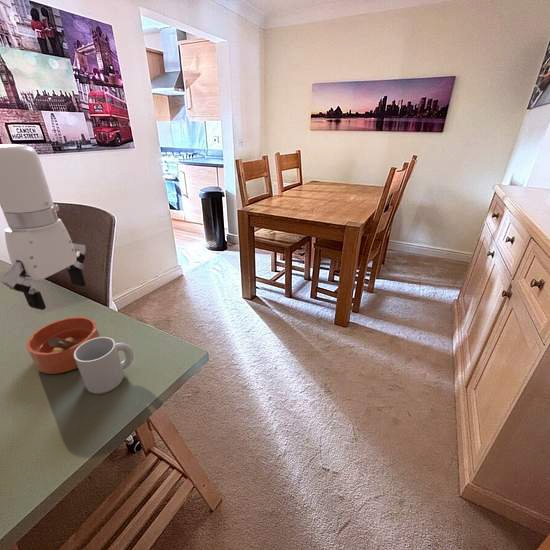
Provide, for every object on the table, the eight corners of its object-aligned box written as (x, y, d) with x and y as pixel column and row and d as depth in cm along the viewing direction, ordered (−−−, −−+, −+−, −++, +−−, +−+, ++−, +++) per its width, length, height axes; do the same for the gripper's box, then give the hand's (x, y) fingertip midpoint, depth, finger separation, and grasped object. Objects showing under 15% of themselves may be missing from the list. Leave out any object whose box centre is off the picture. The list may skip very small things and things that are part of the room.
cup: (82, 379, 64) (70, 346, 60) (131, 358, 70) (123, 327, 66) (90, 401, 59) (77, 367, 55) (142, 376, 65) (134, 344, 61)
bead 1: (59, 354, 70) (52, 347, 69) (67, 350, 70) (61, 343, 69) (54, 360, 68) (48, 352, 67) (63, 355, 68) (57, 348, 67)
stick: (81, 353, 70) (60, 349, 58) (67, 353, 69) (43, 349, 57) (84, 341, 71) (63, 335, 59) (70, 341, 70) (47, 334, 58)
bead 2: (75, 347, 72) (74, 341, 71) (64, 349, 71) (63, 343, 70) (74, 340, 74) (73, 334, 72) (64, 342, 72) (62, 336, 71)
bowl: (25, 380, 63) (14, 359, 61) (49, 340, 75) (41, 320, 72) (94, 369, 66) (87, 349, 64) (107, 332, 78) (102, 313, 75)
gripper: (57, 203, 64) (79, 274, 72) (-37, 229, 49) (4, 315, 57) (86, 207, 62) (105, 279, 70) (-2, 235, 47) (35, 322, 55)
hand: (60, 295), depth 64 cm, fingers open, 9 cm apart
